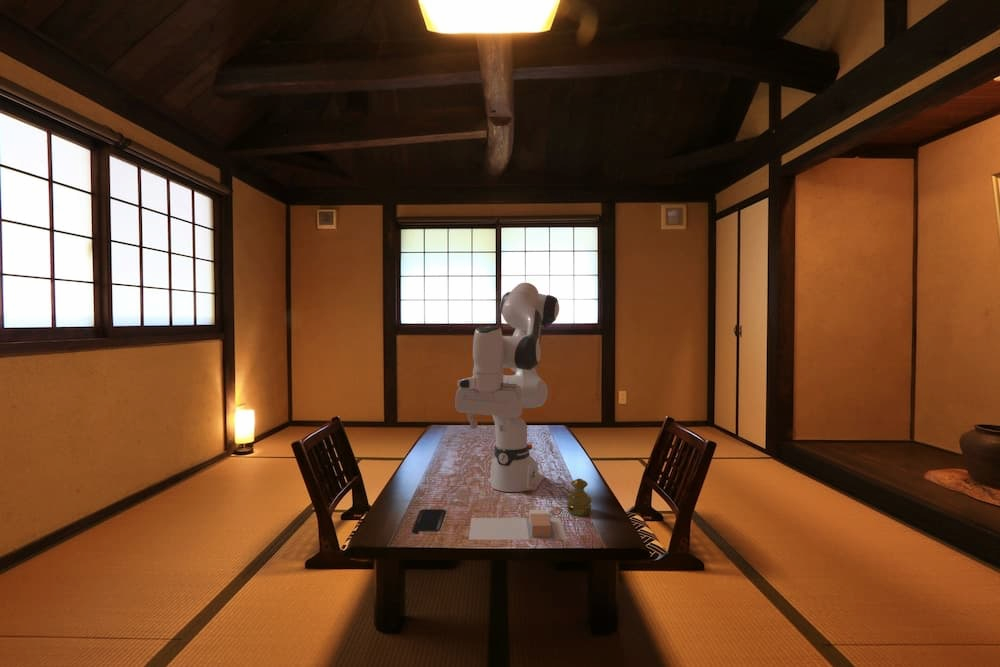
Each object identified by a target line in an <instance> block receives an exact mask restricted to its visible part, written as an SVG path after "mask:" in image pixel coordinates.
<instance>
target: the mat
mask: <svg viewBox="0 0 1000 667" xmlns="http://www.w3.org/2000/svg"><path fill="white" fill-rule="evenodd" d="M549 520H550V524H551V537H532V532H531V526H530V520H529V517H471V519H470V526H469V534H468V541H469V540H470V541H531V540H532V541H567V539H568V538H567V535H566V533H565V529H564V526H563V523H562V521H561V517H549Z"/></svg>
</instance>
